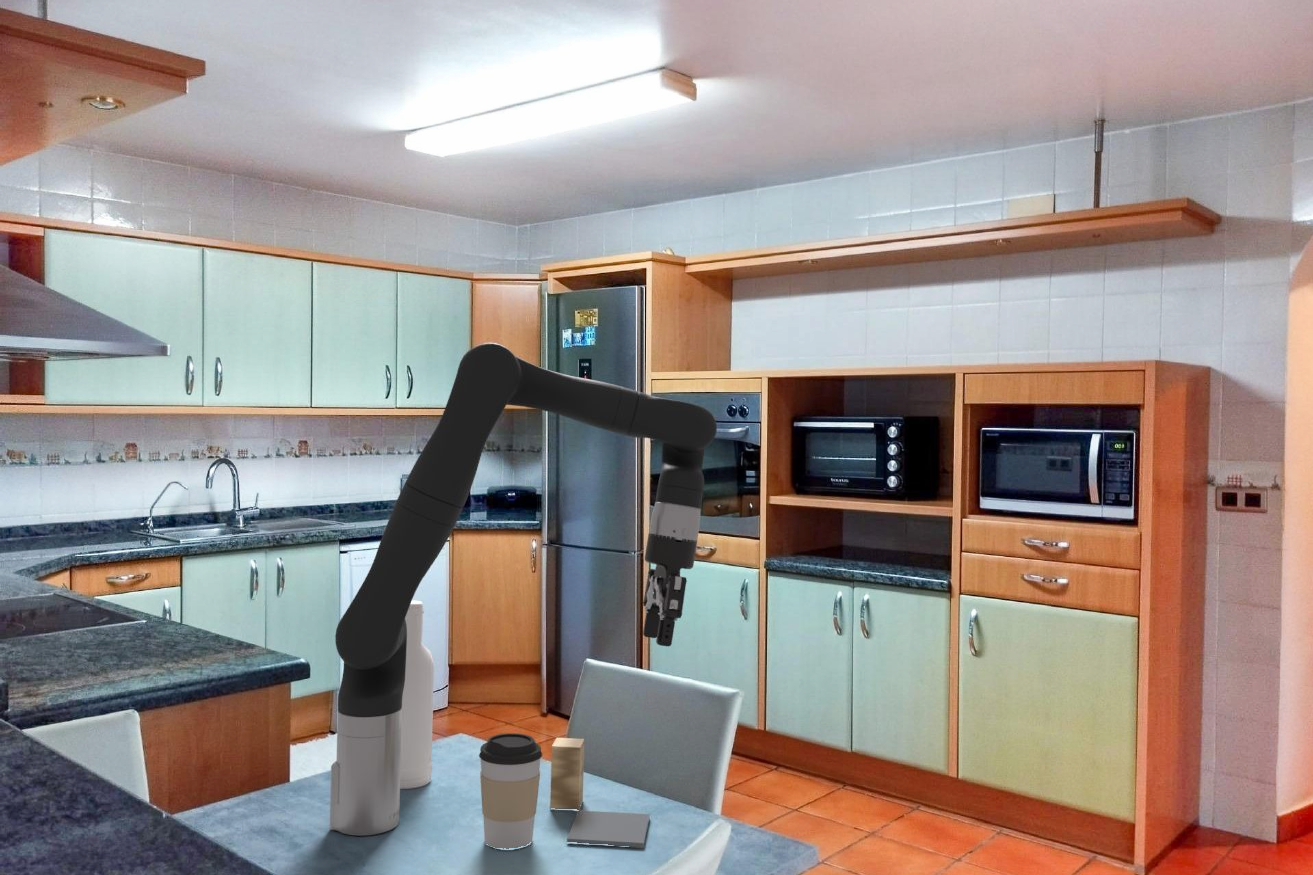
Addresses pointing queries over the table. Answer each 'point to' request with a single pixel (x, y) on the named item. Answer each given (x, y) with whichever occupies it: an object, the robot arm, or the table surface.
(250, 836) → the table surface
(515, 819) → the coffee cup
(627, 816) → the slate coaster
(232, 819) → the table surface
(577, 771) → the oak block
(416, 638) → the bottle
